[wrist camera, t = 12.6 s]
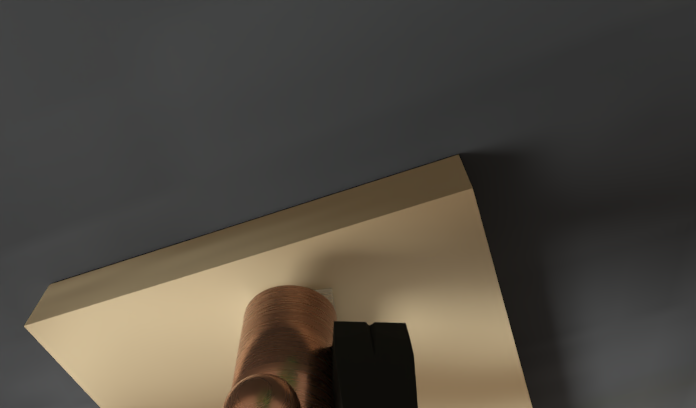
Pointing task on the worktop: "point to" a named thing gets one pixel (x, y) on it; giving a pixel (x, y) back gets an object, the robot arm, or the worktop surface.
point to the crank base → (307, 271)
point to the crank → (285, 350)
